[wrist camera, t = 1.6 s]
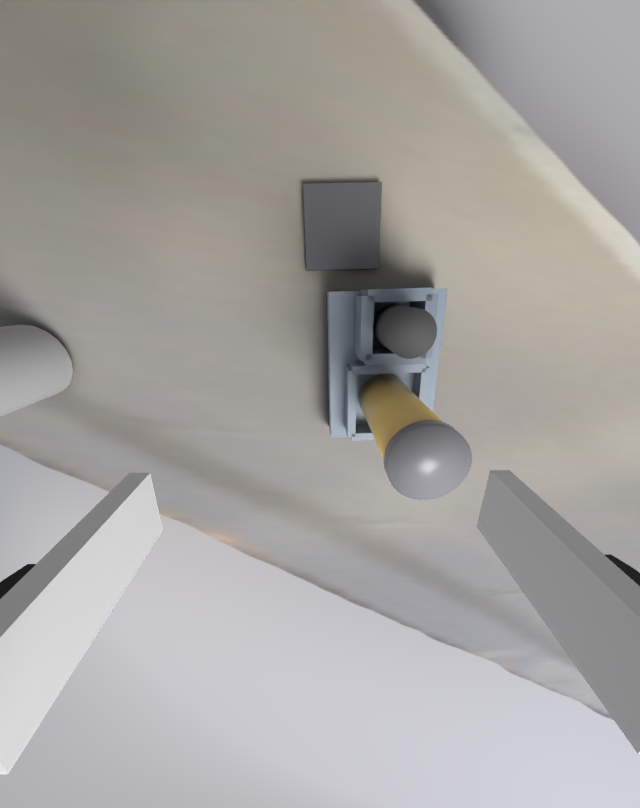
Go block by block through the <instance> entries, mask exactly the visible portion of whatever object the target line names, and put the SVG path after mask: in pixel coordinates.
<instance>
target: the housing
mask: <svg viewBox="0 0 640 808" xmlns="http://www.w3.org/2000/svg"><path fill="white" fill-rule="evenodd" d="M446 297H447V288H443V289H433V287H432V288H395V289H363V290H360V291H333V292H327V319H328V381H329V428H330V435H331V438H339V437H351V441H359V440H375V438H374V436H373V434H372V432H371V429H370V427H369V425H368V422H367V420H366V418H365V416H364V413H363V411H362V409H361V406H360V403H359V394H360V391H361V388H362V387H363V385H364V384H365V383H366V382H367V381H368V380H369V379H371V378H372V377H374V376H377V375H381V374H388V375H392V376H395V377H397V378H398V379H400V380H401V381H402V382H403V383H404V384H405V385H406V386H407V387H408V388H409V389H410V390H411V391H412V392H413V393H414V394H415V395H416V396H417V397H418V398H419V399H420V400H421V401H422V402H423V403H424V404H425V405H426V406H427V407H428V408H429V409H430V410H431V411H432V412H433V407H434V398H435V390H436V381H437V373H438V364H439V356H440V347H441V339H442V330H443V322H444V314H445V305H446ZM391 305H401V306H408V307H415V308H421V309H424V310H426V311H427V312H429V313H430V314H431V315H432V316H433V318H434V319H435V322H436V325H437V336H436V340H435V342H434V344H433V346H432V347H431V348H430V350H429V351H428V352H426V353H425V354H424V355H422V356H420V357H417V358H414V359H405V358H402V357H399V356H397V355H396V354H395V353H393V352H392V351H390V350H389V349H388V348H386V347H385V346H384V345H382V344H381V343H380V342H379V341H378V340H377V339H376V337H375V335H374V331H373V325H374V321H375V318H376V316H377V315H378V313H379V312H380V311H381V310H383V309H384V308H386V307H388V306H391Z"/></svg>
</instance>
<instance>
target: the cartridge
mask: <svg viewBox="0 0 640 808" xmlns="http://www.w3.org/2000/svg"><path fill="white" fill-rule="evenodd" d="M359 403H360V406H361V409H362V411H363V413H364V416H365V418H366V420H367V422H368V425H369V427H370V429H371V432H372V434H373V436H374V438H375V441H376V443H377V445H378V447H379V450H380V452H381V454H382V457H383V459H384V468H385V470H386V473H387V475H388V478H389V480H390V482H391V484H392V485H393V487H394V488H395V489H396V490H397V491H398V492H399V493H401V494H402V495H404V496H406V497H409V498H412V499H418V500H429V499H435V498H438V497H441V496H444V495H446V494H448V493H450V492H451V491H453V490H454V489H455V488H457V487H458V486H459V485H460V484H461V483H462V482H463V480H464V479H465V478H466V476H467V474H468V472H469V470H470V467H471V462H472V454H471V449H470V446H469V444H468V443H467V441H466V440H465V438H464V437H463V436H462V435H461V434H460V433H458V432H457V431H456V430H455V429H454V428H453V427H452V426H450V425H448V424H446V423H444V422H443V421H442V420H441V419H440V418H438V417H437V416H436V415H435V414H434V413H433V412H432V411H431V410H430V409H429V408H428V407H427V406H426V405H425V404H424V403H423V402H422V401H421V400H420V399H419V398H418V397H417V396H416V395H415V394H414V393H413V392H412V391H411V390H410V389H409V388H408V387H407V386H406V385H405V384H404V383H403V382H402V381H401V380H400V379H398V378H397V377H395V376H392V375H388V374H381V375H377V376H374V377H372V378H371V379H369V380H368V381H367V382H366V383H365V384H364V385H363V387H362V388H361V391H360V394H359Z"/></svg>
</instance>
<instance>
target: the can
mask: <svg viewBox="0 0 640 808" xmlns="http://www.w3.org/2000/svg"><path fill="white" fill-rule="evenodd" d="M72 375H73V368H72V361H71V359H70V357H69V355H68V353H67V350H66V349H65V348H64V347H63V345H62V344H61V343H60V342H59V341H58V340H57V339H56V338H55V337H53V336H52V335H51V334H49V333H48V332H47V331H44V330H42V329H40V328H37V327H35V326H30V325H23V324H20V325H11V326H2V327H0V417H1V416H3V415H6V414H8V413H11V412H13V411H16V410H18V409H21V408H23V407H26V406H28V405H31V404H33V403H36V402H38V401H41V400H43V399H46V398H48V397H51V396H53V395H56V394H58V393H60V392H61V391H63V390H65V389H66V388H67V386H68V385H69V384H70V382H71V379H72Z"/></svg>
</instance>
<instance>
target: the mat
mask: <svg viewBox="0 0 640 808" xmlns="http://www.w3.org/2000/svg"><path fill="white" fill-rule="evenodd" d="M381 189H382V182H358V183H309V184H303V194H304V220H305V246H306V271H310V270H348V269H378V264H379V239H380V214H381Z"/></svg>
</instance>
